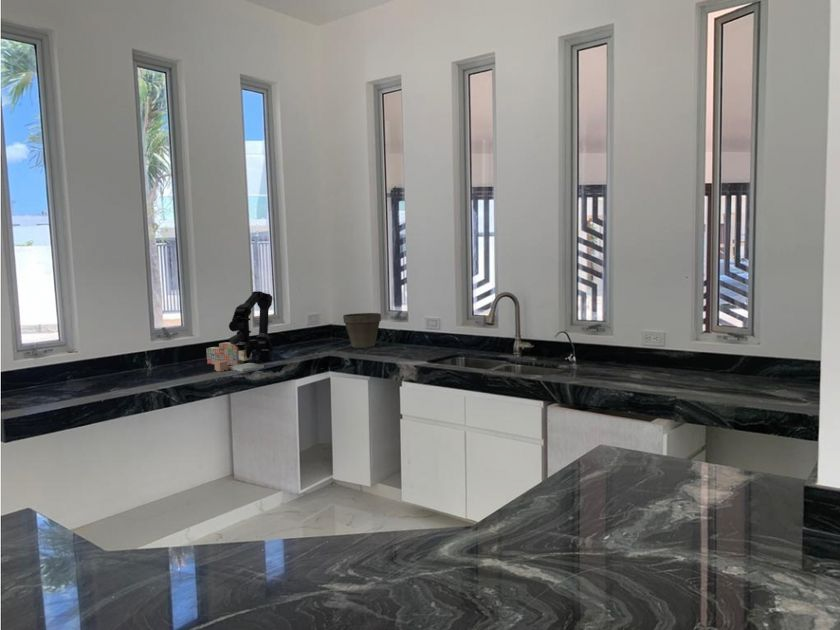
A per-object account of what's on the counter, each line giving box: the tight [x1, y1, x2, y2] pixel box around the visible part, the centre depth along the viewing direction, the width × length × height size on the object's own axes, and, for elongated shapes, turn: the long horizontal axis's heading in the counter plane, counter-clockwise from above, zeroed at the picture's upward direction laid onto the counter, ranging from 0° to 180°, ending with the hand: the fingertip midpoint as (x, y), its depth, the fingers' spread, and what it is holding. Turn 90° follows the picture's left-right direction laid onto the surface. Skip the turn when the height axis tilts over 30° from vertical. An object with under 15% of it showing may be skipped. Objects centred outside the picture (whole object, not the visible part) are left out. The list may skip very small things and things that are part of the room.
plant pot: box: [343, 312, 382, 349], centre depth 438 cm, size 25×25×22 cm
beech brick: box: [238, 349, 253, 362], centre depth 365 cm, size 5×5×5 cm
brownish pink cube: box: [213, 361, 229, 372], centre depth 361 cm, size 5×5×5 cm
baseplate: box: [228, 362, 265, 373], centre depth 365 cm, size 14×14×2 cm
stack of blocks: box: [205, 341, 245, 366], centre depth 384 cm, size 21×6×12 cm, turn 70°
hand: (245, 357), depth 365 cm, fingers closed on beech brick, 5 cm apart
